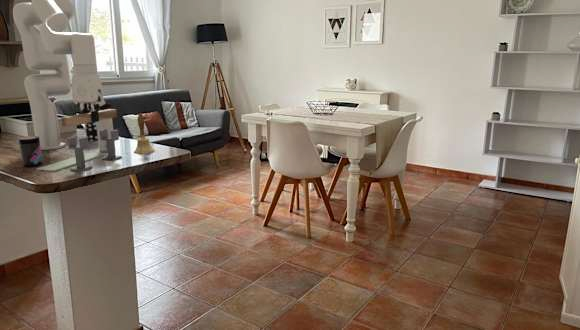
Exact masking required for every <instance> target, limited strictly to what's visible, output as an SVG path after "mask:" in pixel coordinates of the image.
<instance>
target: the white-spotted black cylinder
mask: <svg viewBox="0 0 580 330" xmlns="http://www.w3.org/2000/svg"><path fill="white" fill-rule="evenodd" d="M88 110H90V112H91V111H92V109H91V103H88ZM84 128H85V134H86V137H87V138H88V142H98V135H97V127H96V122H91V123H86V124H84Z"/></svg>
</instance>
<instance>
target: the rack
mask: <svg viewBox="0 0 580 330" xmlns="http://www.w3.org/2000/svg"><path fill="white" fill-rule="evenodd" d="M110 132H111V137H108V133H107V129H104V130H100V139H101V140H104V141H106V145H107V153H106V156H103V157H101V160H102V161H106V162H107V161H109V162H115V161H118V160H120V159H122V158H123V157H122V155H116V145H115V146H114V141H115V142H116V141H119V140H120V138H119V129H113V131H110ZM66 140H67V147H68V150H74V151H73V152H74V157H75V158H76V165H75V166H73V167H71V168H70V167H69V171H70V172H79V173H80V172H81V173H83V172H85V171H88V170H91V169H93V166H92V165H86V162H85V158H84V154H85V152H84V150H87V149H90V146H89V141H88V138H87V136H86V137H85V136H84V137H82V138H78V141H77V136H71V137H67V138H66ZM78 143H79V144H78Z"/></svg>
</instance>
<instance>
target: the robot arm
mask: <svg viewBox="0 0 580 330" xmlns="http://www.w3.org/2000/svg"><path fill="white" fill-rule="evenodd" d="M74 6H75V5H74V4H73V2H72V0H31V2H19V3H15V5H14V6H13V8H12V18H13V21H14V23H15V26H16V28H17V30H18V32H19V34H20V39H21V44H22V51H23V57H24V63H25V65H26V67H27V69H28V70H30V71H34V72H35V71H36V72H38V71H39V72H42V71H54V72H55V73H35V74H29V75H28V76H26V77H25V78H24V83H23V84H24V85H23V86H24V89H25V92H26V94H27V97H28V102H29V106H30V112H31V119H32V124H33V131H34V136H39V139H40V146H41V151H51V150H56V149H61V148H64V147H66V143H65V142H63V141H62V139H61V134H60V133H61V132H60V126H59V119H58V113H57V108H56V104H55V103H54V102H53V101H52V100H51V99H50V98H49V97H59V96H66V95H69V94H70V92H71V95H72V96H71V97H72V100H73V101H72V102H73V103H74V104H75V105H77V107H79V110H80V111H81V114H84V113H89V112H90V110H88V103H91V109H92V111H91V119H92V122H98V121H99V113H98V110H100V108H101V106H103V105H106V101H105V99H104V91H103V85H102V80H101V77H100V73H98V65H97V53H96V46H95V45H96V44H95V37H94V36H93V34H91V33H85V32H84V33H83V32H65V31H66V30H67V29H68V27H69V25H70V21H71V20H72V19H73V18H74V15H75V7H74ZM38 26H40V28H39V27H38ZM67 55H71V57H72V58H71V59H72V68H71V69H72V70H73V73H72V75H71V77H70V68H69V63H68V57H67Z"/></svg>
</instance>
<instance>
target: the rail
mask: <svg viewBox="0 0 580 330" xmlns="http://www.w3.org/2000/svg"><path fill="white" fill-rule="evenodd" d="M98 113H99V121H100V120H105V119H110V118H112V119H114V118H117V117H118V116H117V115H118V114H117V108H116V109H115V108H111V109H106V110H101V111H98ZM91 122H92V119H91V112H89V113H84V114H82V113H79V114H78V113H77V114H73V115H68V116H63V117H61V127H63V128H65V127H66V128H70V127H75V126H80V125H85V124H86V123H91Z"/></svg>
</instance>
